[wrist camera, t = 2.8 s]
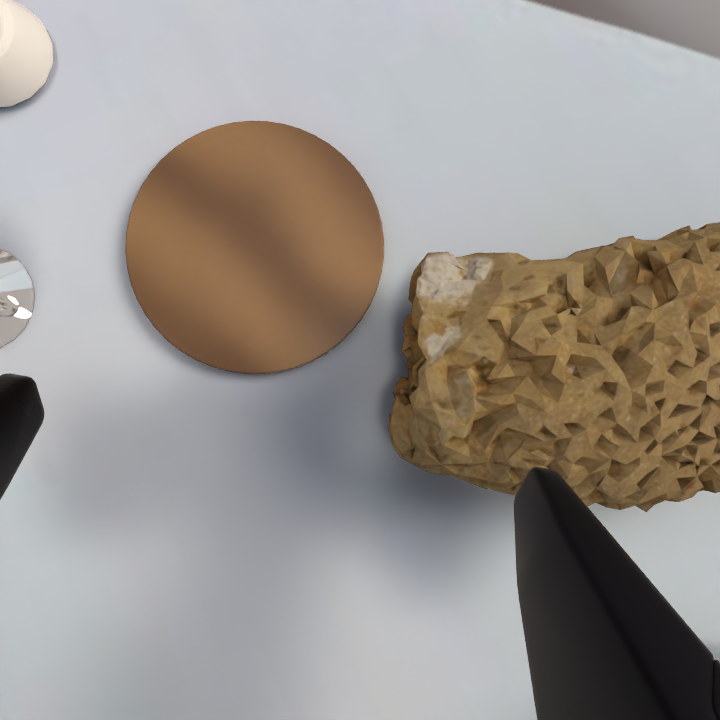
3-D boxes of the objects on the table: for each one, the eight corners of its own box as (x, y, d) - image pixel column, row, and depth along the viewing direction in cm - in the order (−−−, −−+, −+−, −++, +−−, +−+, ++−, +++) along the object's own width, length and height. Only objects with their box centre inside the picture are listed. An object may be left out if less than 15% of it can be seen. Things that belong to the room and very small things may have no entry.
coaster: (289, 423, 23) (288, 424, 23) (77, 278, 23) (71, 276, 22) (431, 218, 24) (433, 214, 23) (227, 78, 24) (224, 71, 23)
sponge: (389, 478, 24) (854, 552, 21) (371, 470, 17) (1092, 584, 13) (423, 239, 27) (831, 270, 24) (420, 143, 20) (1012, 167, 17)
